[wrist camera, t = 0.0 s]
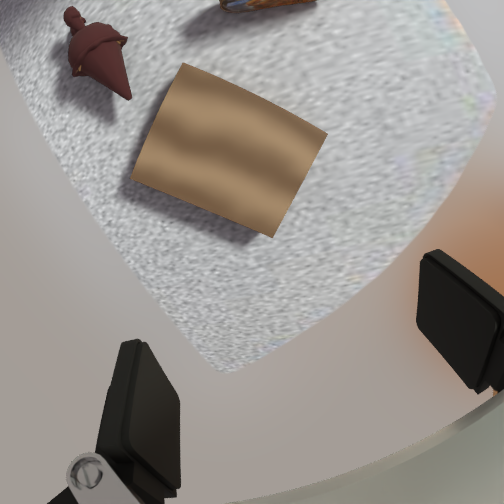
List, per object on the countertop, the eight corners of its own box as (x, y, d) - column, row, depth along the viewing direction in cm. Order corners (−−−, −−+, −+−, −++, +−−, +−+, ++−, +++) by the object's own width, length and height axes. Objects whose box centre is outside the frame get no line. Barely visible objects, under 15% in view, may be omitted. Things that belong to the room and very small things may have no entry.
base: (185, 68, 32) (183, 62, 28) (316, 131, 37) (327, 133, 34) (136, 172, 36) (129, 178, 33) (266, 226, 42) (272, 237, 38)
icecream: (159, 69, 26) (94, -15, 21) (97, 112, 25) (37, 21, 20) (157, 89, 33) (100, 12, 28) (106, 125, 32) (52, 44, 27)
